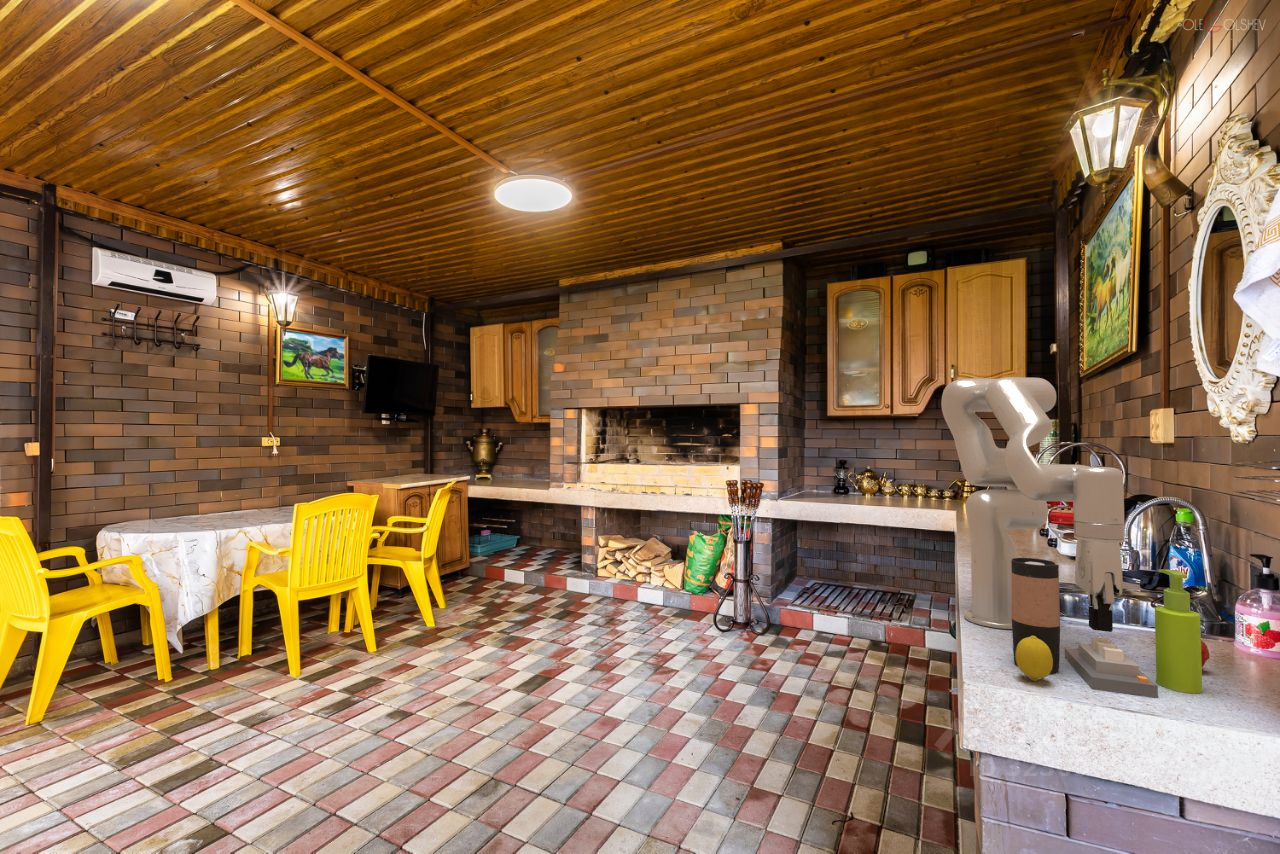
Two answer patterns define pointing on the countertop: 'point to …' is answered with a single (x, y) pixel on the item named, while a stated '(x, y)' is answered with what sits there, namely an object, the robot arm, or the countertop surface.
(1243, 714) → the countertop surface
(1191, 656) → the soap dispenser
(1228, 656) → the countertop surface
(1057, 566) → the travel mug
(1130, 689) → the breaker panel
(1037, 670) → the lemon
